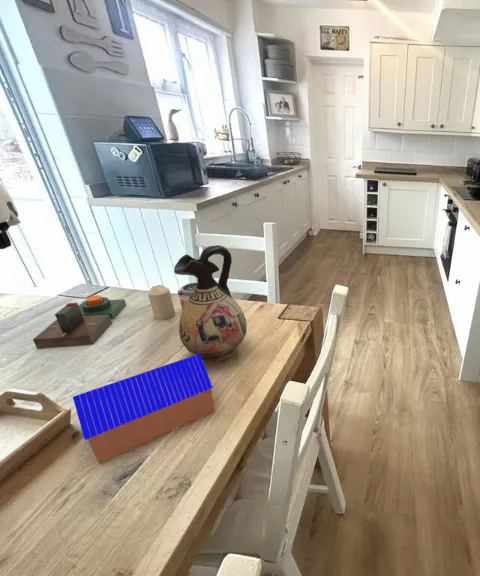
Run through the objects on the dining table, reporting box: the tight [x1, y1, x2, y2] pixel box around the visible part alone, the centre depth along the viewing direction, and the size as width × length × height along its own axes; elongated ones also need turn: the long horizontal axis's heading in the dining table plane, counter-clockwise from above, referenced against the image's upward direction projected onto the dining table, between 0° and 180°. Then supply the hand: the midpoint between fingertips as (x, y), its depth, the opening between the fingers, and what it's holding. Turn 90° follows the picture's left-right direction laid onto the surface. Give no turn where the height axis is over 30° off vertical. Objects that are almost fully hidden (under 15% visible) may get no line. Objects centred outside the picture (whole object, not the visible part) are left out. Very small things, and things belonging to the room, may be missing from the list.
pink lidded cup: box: [176, 281, 198, 312], centre depth 97 cm, size 9×8×12 cm
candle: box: [147, 284, 176, 321], centre depth 99 cm, size 6×6×10 cm
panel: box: [32, 314, 113, 350], centre depth 89 cm, size 12×11×3 cm
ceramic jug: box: [173, 244, 248, 363], centre depth 81 cm, size 17×15×30 cm
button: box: [85, 294, 103, 305], centre depth 98 cm, size 4×4×2 cm
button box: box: [78, 296, 127, 321], centre depth 99 cm, size 11×9×4 cm
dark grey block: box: [54, 301, 84, 332], centre depth 87 cm, size 6×2×6 cm, turn 14°
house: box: [72, 354, 216, 464], centre depth 64 cm, size 12×20×12 cm, turn 132°
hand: (3, 247), depth 83 cm, fingers closed
